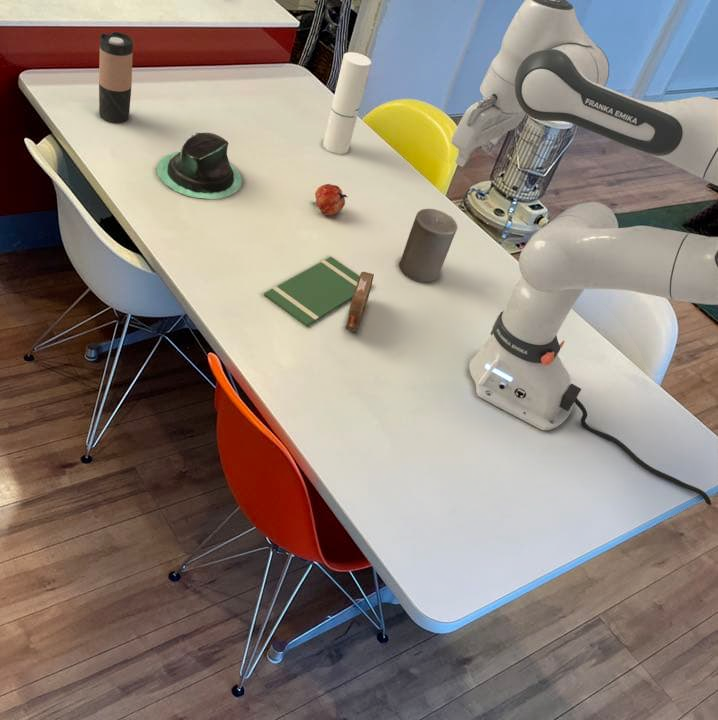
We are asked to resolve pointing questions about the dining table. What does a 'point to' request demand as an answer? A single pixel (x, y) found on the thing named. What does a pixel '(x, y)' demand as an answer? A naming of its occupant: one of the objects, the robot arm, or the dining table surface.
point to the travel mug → (115, 76)
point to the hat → (200, 168)
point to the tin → (359, 301)
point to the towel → (315, 291)
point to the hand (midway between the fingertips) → (473, 157)
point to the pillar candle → (427, 245)
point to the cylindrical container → (346, 102)
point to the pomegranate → (329, 199)
